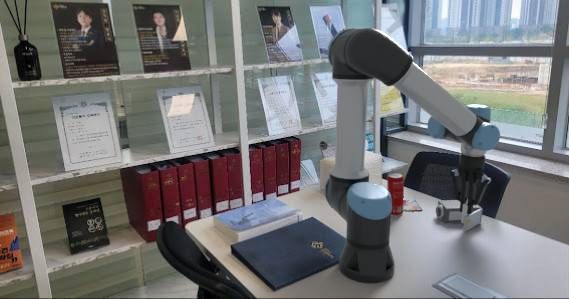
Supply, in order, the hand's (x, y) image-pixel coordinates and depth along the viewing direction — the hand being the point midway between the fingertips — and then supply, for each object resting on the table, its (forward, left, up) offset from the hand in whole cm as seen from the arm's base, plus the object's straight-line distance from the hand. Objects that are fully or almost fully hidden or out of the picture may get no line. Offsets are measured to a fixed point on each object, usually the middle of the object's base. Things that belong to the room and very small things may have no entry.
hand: (464, 221), depth 142 cm
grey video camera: (+2, +9, -3) cm, 9 cm away
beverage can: (-19, +15, -3) cm, 24 cm away
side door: (+3, +1, -2) cm, 4 cm away
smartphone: (-11, +24, -3) cm, 27 cm away
